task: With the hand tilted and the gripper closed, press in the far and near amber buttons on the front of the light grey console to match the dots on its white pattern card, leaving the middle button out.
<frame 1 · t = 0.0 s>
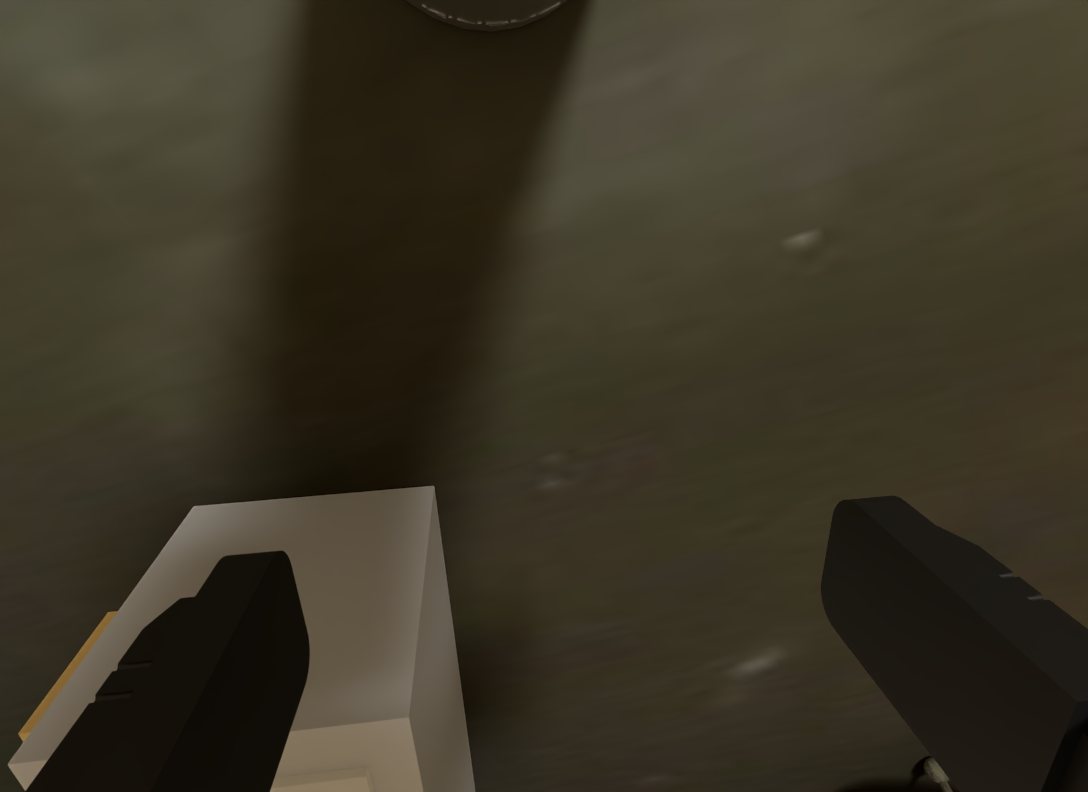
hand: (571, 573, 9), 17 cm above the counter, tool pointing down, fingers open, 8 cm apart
button console: (388, 682, 33), on the counter
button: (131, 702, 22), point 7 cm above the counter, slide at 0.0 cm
tabletop clock: (914, 773, 43), on the counter
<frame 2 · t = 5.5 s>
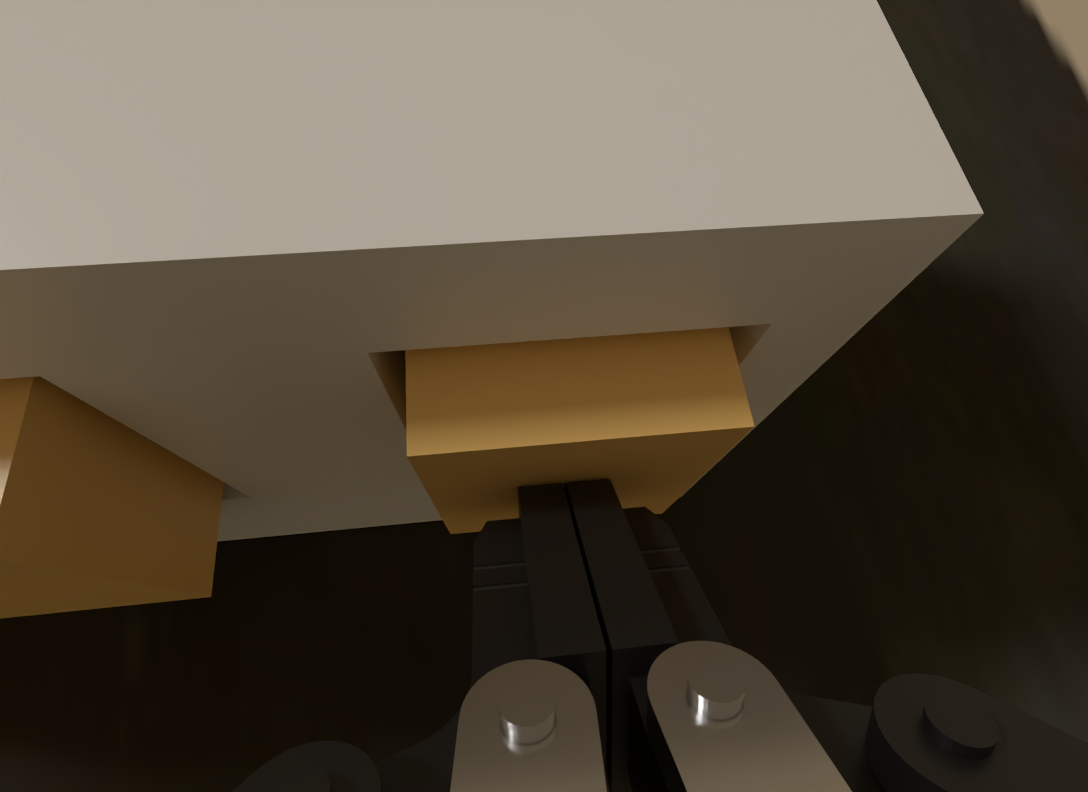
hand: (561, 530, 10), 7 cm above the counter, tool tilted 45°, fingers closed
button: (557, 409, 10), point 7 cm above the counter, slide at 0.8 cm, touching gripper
button console: (238, 319, 19), on the counter
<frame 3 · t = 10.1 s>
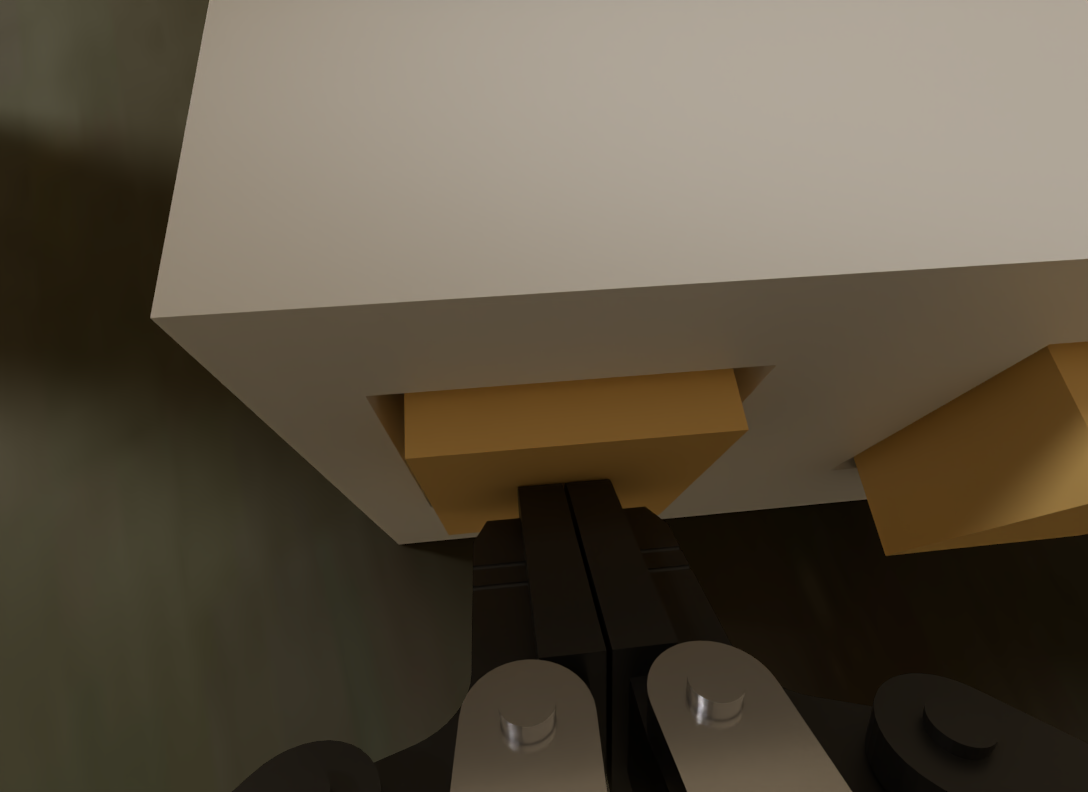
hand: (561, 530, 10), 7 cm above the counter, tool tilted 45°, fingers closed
middle button: (1055, 437, 11), point 7 cm above the counter, slide at 0.0 cm
button console: (784, 299, 20), on the counter
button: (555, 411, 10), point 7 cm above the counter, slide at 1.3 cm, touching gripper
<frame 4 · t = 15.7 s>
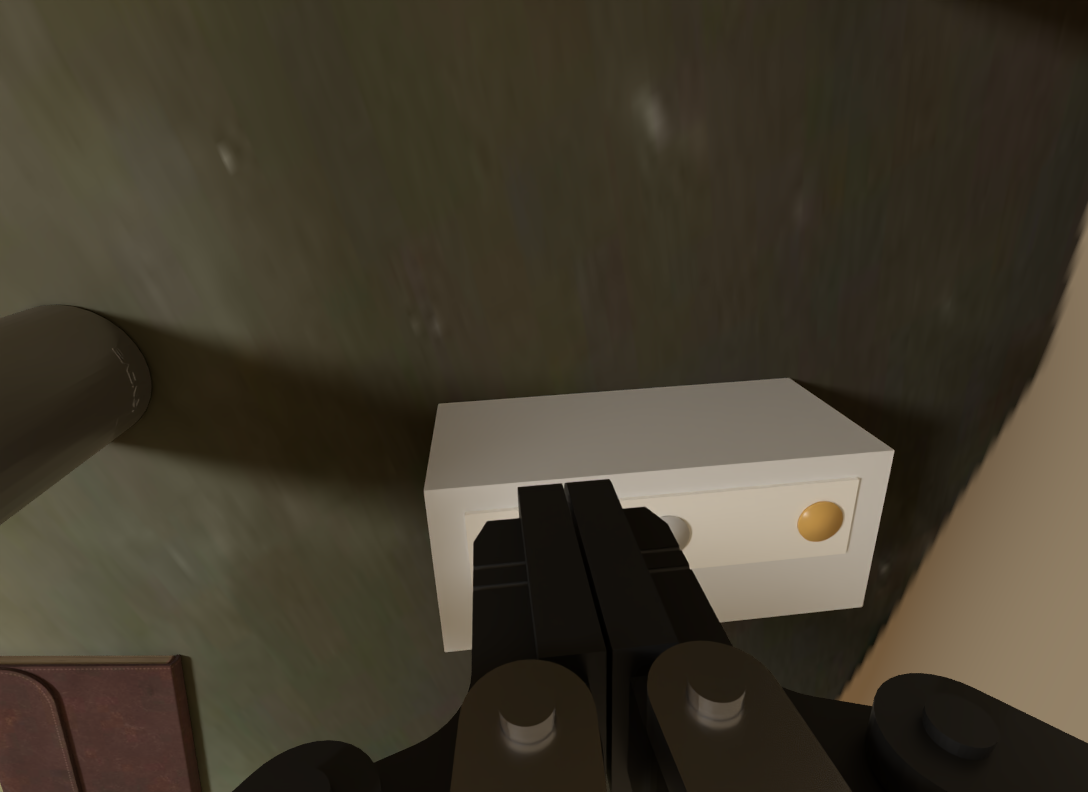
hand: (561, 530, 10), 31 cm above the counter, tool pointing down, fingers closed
button console: (617, 439, 44), on the counter
notebook: (104, 737, 50), on the counter
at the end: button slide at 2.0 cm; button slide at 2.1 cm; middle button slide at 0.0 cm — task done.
